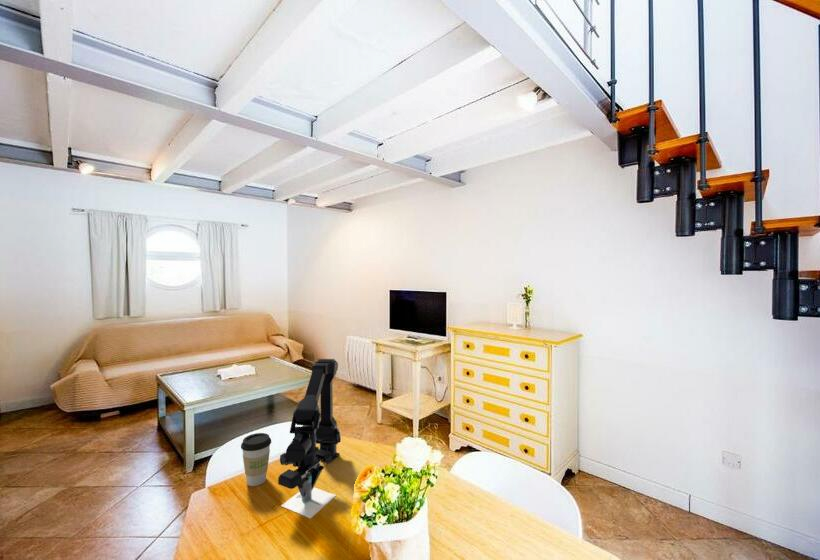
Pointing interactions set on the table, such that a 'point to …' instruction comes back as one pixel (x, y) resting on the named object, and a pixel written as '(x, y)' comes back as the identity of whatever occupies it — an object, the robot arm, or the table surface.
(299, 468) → the robot arm
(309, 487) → the marker
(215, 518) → the table surface
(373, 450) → the table surface
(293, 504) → the paper
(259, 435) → the coffee cup
